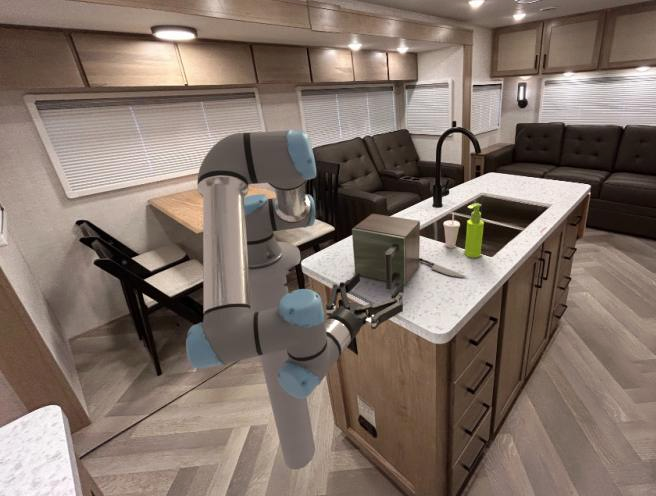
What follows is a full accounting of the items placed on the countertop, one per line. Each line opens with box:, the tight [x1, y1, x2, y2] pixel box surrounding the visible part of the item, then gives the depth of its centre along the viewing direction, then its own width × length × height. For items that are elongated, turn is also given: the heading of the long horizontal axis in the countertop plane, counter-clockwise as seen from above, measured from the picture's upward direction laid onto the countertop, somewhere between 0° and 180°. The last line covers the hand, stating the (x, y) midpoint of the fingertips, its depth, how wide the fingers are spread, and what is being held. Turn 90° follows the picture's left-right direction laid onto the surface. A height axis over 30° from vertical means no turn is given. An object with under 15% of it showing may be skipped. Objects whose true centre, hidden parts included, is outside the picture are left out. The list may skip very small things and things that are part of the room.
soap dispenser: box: [464, 202, 485, 259], centre depth 117 cm, size 6×7×20 cm
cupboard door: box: [351, 227, 406, 291], centre depth 99 cm, size 8×18×17 cm, turn 67°
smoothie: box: [443, 212, 461, 249], centre depth 125 cm, size 6×6×14 cm
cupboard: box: [353, 213, 421, 285], centre depth 108 cm, size 13×18×17 cm
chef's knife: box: [419, 257, 467, 278], centre depth 110 cm, size 19×1×3 cm
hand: (380, 281), depth 89 cm, fingers open, 13 cm apart
